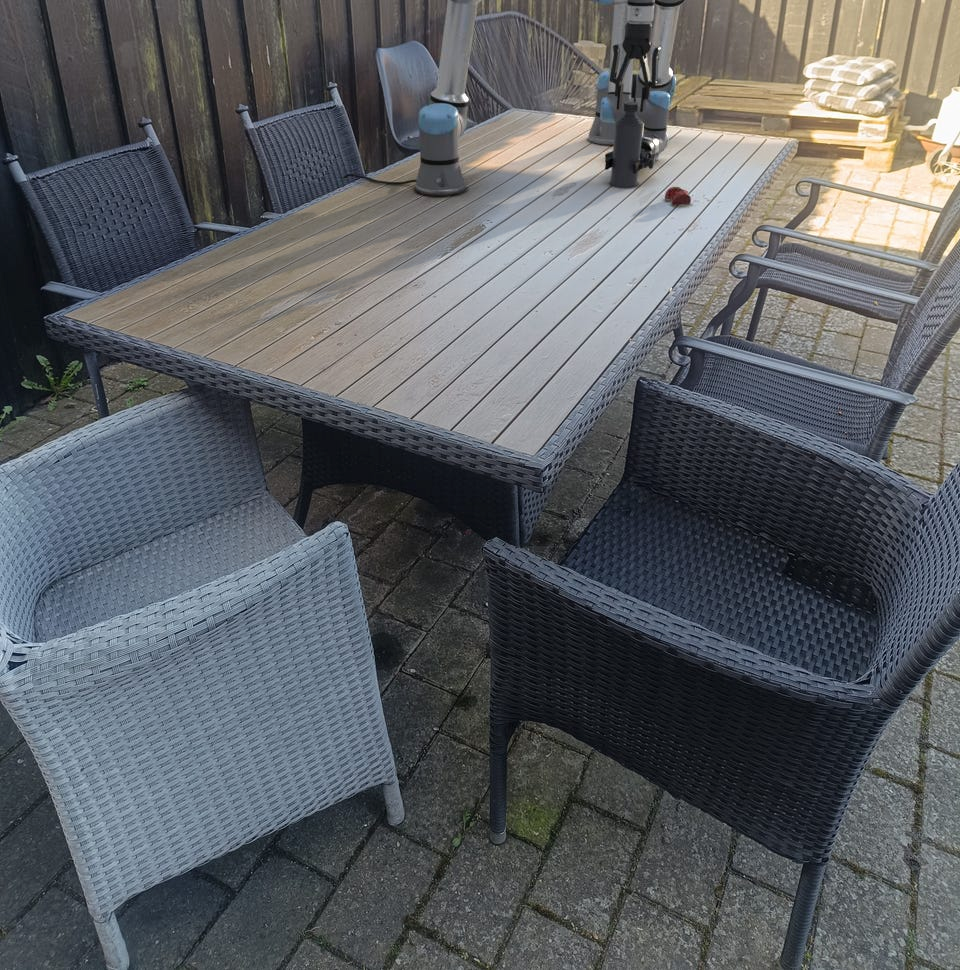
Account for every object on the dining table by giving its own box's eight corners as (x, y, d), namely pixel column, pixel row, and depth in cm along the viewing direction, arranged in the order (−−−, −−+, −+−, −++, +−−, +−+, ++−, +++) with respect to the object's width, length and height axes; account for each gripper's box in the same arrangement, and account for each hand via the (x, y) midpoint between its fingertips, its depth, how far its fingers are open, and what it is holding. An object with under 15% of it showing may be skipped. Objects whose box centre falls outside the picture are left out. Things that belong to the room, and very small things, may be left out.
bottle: (632, 189, 259) (641, 109, 246) (607, 185, 262) (613, 107, 249) (639, 181, 265) (648, 103, 252) (614, 178, 268) (621, 101, 255)
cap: (626, 108, 253) (627, 101, 252) (640, 110, 252) (640, 102, 250) (621, 111, 250) (621, 103, 249) (634, 112, 249) (635, 105, 248)
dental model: (681, 182, 249) (693, 190, 243) (680, 196, 252) (692, 205, 246) (664, 184, 248) (675, 192, 242) (662, 199, 251) (674, 207, 245)
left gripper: (602, 21, 238) (595, 109, 252) (669, 26, 231) (659, 115, 245) (610, 18, 244) (603, 104, 257) (676, 22, 237) (666, 110, 250)
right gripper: (674, 166, 271) (652, 184, 255) (612, 158, 279) (587, 175, 263) (677, 141, 267) (655, 158, 250) (614, 134, 275) (588, 150, 258)
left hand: (630, 109), depth 251 cm, fingers open, 7 cm apart
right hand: (620, 167), depth 257 cm, fingers closed on bottle, 8 cm apart
